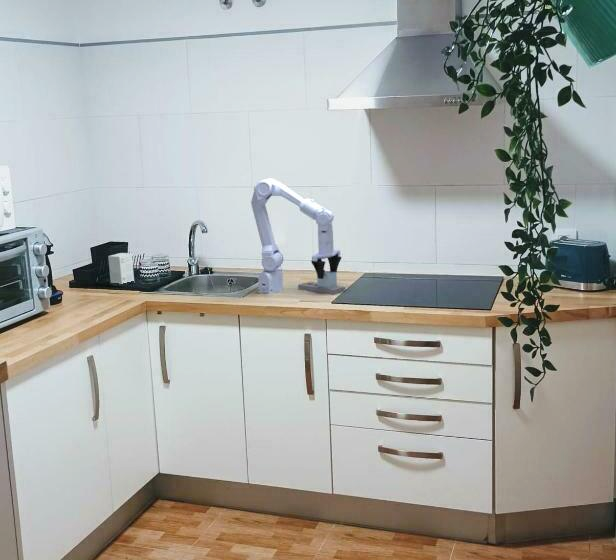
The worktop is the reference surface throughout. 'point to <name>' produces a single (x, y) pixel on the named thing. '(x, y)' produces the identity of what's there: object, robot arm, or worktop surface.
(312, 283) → the grey control panel
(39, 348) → the worktop surface
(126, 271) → the small box
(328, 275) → the block
